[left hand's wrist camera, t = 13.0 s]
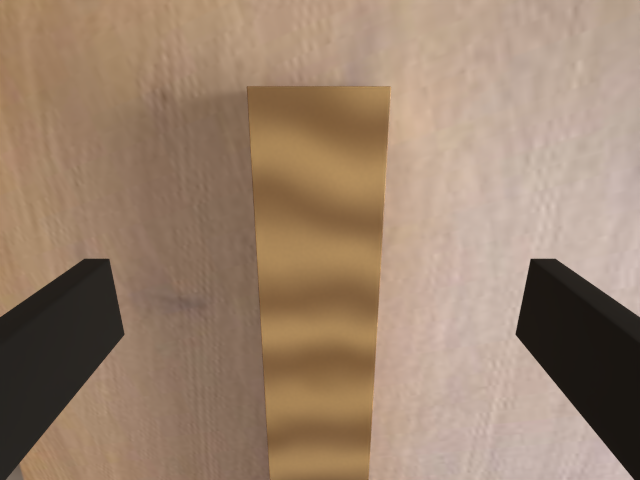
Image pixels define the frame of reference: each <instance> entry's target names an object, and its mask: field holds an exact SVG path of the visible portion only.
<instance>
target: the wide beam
mask: <svg viewBox="0 0 640 480" xmlns="http://www.w3.org/2000/svg"><path fill="white" fill-rule="evenodd" d="M247 97H248V114H249V131H250V148H251V166H252V183H253V200H254V217H255V234H256V251H257V269H258V286H259V303H260V320H261V337H262V355H263V372H264V389H265V406H266V423H267V441H268V458H269V475H270V480H368V477H369V459H370V442H371V425H372V408H373V390H374V373H375V356H376V339H377V322H378V304H379V287H380V270H381V253H382V235H383V218H384V201H385V184H386V166H387V149H388V132H389V115H390V97H391V87H390V86H247Z"/></svg>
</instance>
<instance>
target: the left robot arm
mask: <svg viewBox="0 0 640 480" xmlns="http://www.w3.org/2000/svg"><path fill="white" fill-rule="evenodd" d="M123 336H124V330H123V325H122V320H121V315H120V310H119V305H118V300H117V295H116V290H115V285H114V280H113V275H112V270H111V265H110V260H109V259H84V260H82V261H81V262H79V263H78V264H76V265H75V266H74V267H72V268H71V269H69V270H68V271H66V272H65V273H63V274H62V275H61V276H59V277H58V278H56V279H55V280H53V281H52V282H50V283H49V284H48V285H46V286H45V287H43V288H42V289H40V290H39V291H37V292H36V293H35V294H33V295H32V296H30V297H29V298H27V299H26V300H24V301H23V302H22V303H20V304H19V305H17V306H16V307H14V308H13V309H12V310H10V311H9V312H7V313H6V314H4V315H3V316H1V317H0V480H6V479H7V477H8V476H9V475H10V474H11V473H12V471H13V470H14V469H15V468H16V466H17V465H18V464H19V463H20V462H21V460H22V459H23V458H24V457H25V455H26V454H27V453H28V452H29V451H30V449H31V448H32V447H33V446H34V444H35V443H36V442H37V441H38V440H39V438H40V437H41V436H42V435H43V433H44V432H45V431H46V430H47V429H48V427H49V426H50V425H51V424H52V422H53V421H54V420H55V419H56V418H57V416H58V415H59V414H60V413H61V411H62V410H63V409H64V408H65V407H66V405H67V404H68V403H69V402H70V400H71V399H72V398H73V397H74V396H75V394H76V393H77V392H78V391H79V389H80V388H81V387H82V386H83V385H84V383H85V382H86V381H87V380H88V378H89V377H90V376H91V375H92V374H93V372H94V371H95V370H96V369H97V367H98V366H99V365H100V364H101V363H102V361H103V360H104V359H105V358H106V356H107V355H108V354H109V353H110V352H111V350H112V349H113V348H114V347H115V345H116V344H117V343H118V342H119V341H120V339H121V338H122V337H123ZM516 336H517V337H518V338H519V339H520V341H521V342H522V343H523V344H524V345H525V347H526V348H527V349H528V350H529V352H530V353H531V354H532V355H533V356H534V358H535V359H536V360H537V361H538V363H539V364H540V365H541V366H542V367H543V369H544V370H545V371H546V372H547V374H548V375H549V376H550V377H551V378H552V380H553V381H554V382H555V383H556V385H557V386H558V387H559V388H560V389H561V391H562V392H563V393H564V394H565V396H566V397H567V398H568V399H569V400H570V402H571V403H572V404H573V405H574V407H575V408H576V409H577V410H578V411H579V413H580V414H581V415H582V416H583V418H584V419H585V420H586V421H587V422H588V424H589V425H590V426H591V427H592V429H593V430H594V431H595V432H596V433H597V435H598V436H599V437H600V438H601V440H602V441H603V442H604V443H605V444H606V446H607V447H608V448H609V449H610V451H611V452H612V453H613V454H614V455H615V457H616V458H617V459H618V460H619V462H620V463H621V464H622V465H623V466H624V468H625V469H626V470H627V471H628V473H629V474H630V475H631V476H632V477H633V479H634V480H640V317H639V316H637V315H636V314H634V313H633V312H631V311H630V310H628V309H627V308H626V307H624V306H623V305H621V304H620V303H618V302H617V301H616V300H614V299H613V298H611V297H610V296H608V295H607V294H605V293H604V292H603V291H601V290H600V289H598V288H597V287H595V286H594V285H592V284H591V283H590V282H588V281H587V280H585V279H584V278H582V277H581V276H579V275H578V274H577V273H575V272H574V271H572V270H571V269H569V268H568V267H566V266H565V265H564V264H562V263H561V262H559V261H558V260H556V259H531V260H530V265H529V270H528V275H527V280H526V285H525V290H524V295H523V300H522V305H521V310H520V315H519V320H518V325H517V330H516Z"/></svg>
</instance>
